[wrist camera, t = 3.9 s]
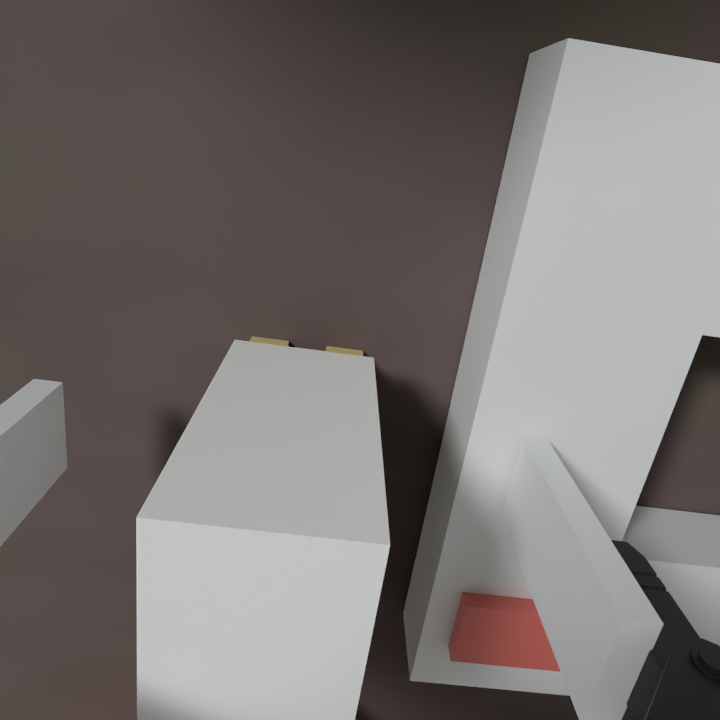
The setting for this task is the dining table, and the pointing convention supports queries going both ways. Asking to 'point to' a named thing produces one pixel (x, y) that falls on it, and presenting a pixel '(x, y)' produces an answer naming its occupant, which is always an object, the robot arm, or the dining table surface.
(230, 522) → the plug
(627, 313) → the socket
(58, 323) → the dining table surface
